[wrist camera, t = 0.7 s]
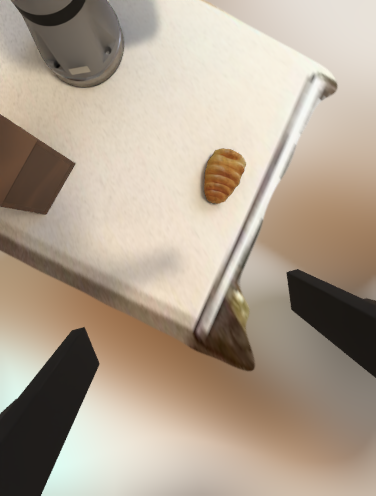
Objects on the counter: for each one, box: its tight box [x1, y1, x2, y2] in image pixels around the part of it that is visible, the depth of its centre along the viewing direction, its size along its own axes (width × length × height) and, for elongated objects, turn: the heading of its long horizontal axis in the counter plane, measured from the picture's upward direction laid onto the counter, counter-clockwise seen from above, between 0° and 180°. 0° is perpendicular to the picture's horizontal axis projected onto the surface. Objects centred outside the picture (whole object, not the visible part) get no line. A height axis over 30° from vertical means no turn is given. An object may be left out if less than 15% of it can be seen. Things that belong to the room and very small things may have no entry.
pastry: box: [204, 149, 246, 204], centre depth 34 cm, size 9×7×4 cm
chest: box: [1, 139, 75, 214], centre depth 33 cm, size 14×12×9 cm
